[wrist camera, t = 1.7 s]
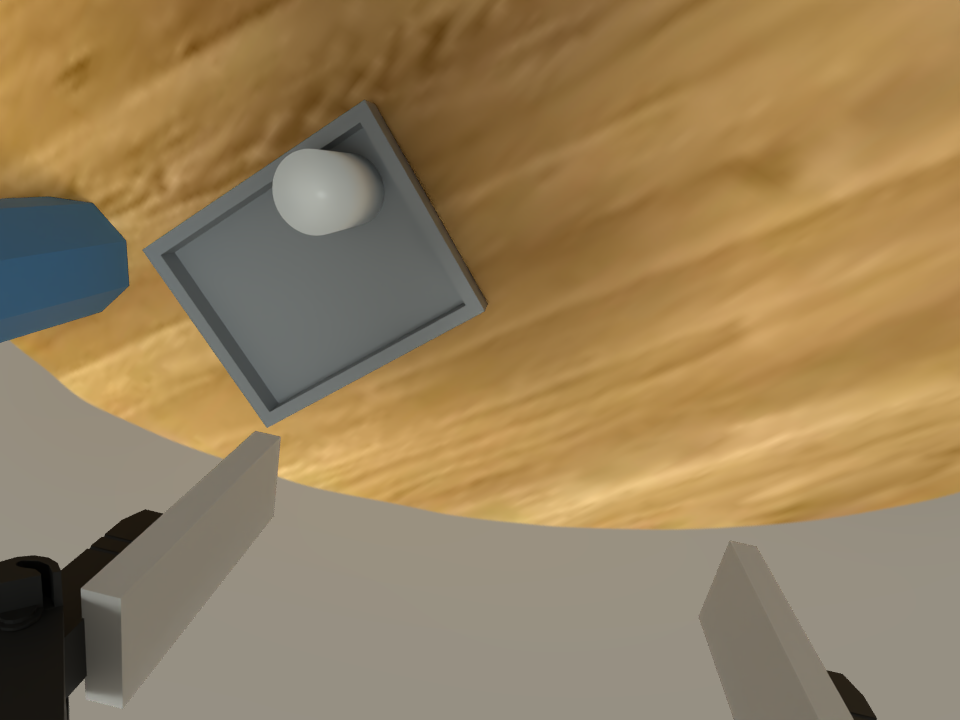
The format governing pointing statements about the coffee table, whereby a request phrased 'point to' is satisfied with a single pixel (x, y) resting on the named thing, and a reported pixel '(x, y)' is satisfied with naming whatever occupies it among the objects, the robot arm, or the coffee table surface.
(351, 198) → the white rounded column
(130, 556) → the robot arm
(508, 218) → the coffee table surface
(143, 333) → the coffee table surface
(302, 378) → the tray
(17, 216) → the water bottle
